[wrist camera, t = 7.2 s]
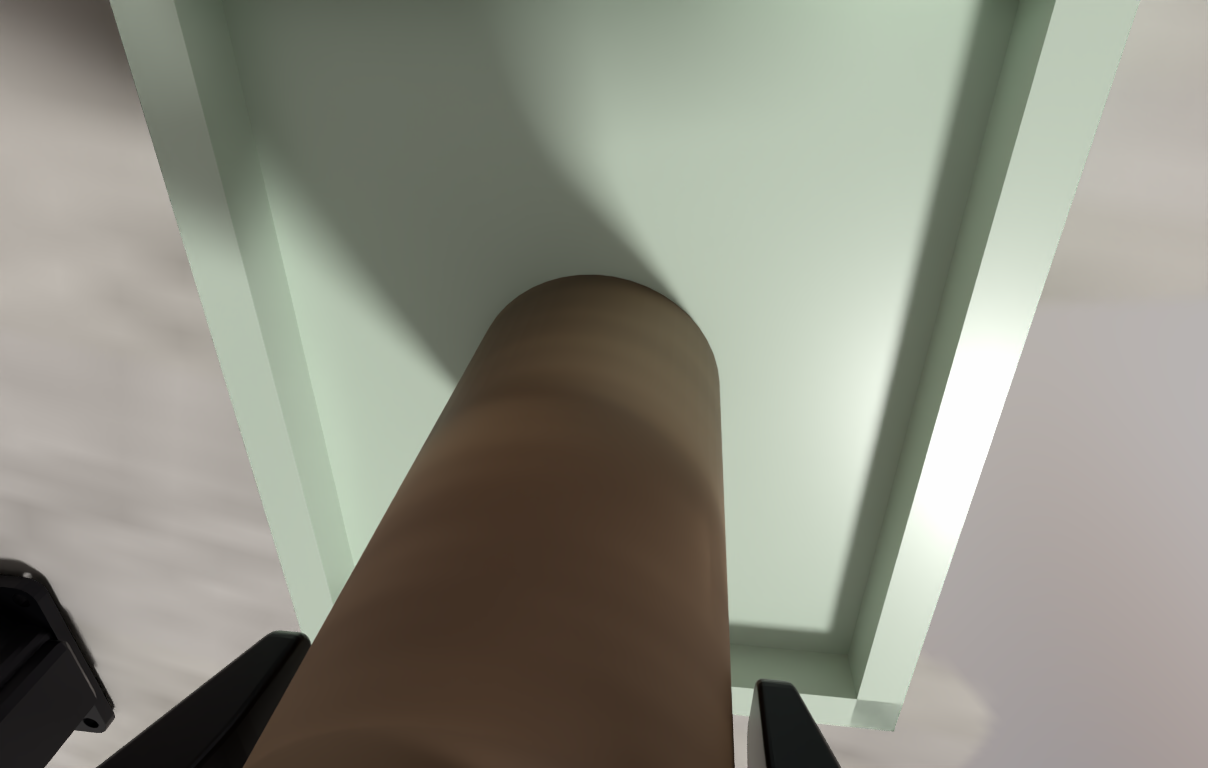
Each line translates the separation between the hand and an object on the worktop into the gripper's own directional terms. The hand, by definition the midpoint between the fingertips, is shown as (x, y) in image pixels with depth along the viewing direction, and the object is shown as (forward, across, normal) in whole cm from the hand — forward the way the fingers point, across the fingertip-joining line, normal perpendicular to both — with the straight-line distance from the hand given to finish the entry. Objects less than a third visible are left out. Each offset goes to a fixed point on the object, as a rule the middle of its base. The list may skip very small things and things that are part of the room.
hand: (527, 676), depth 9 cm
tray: (+8, 0, 0) cm, 8 cm away
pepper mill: (+7, 0, 0) cm, 7 cm away
